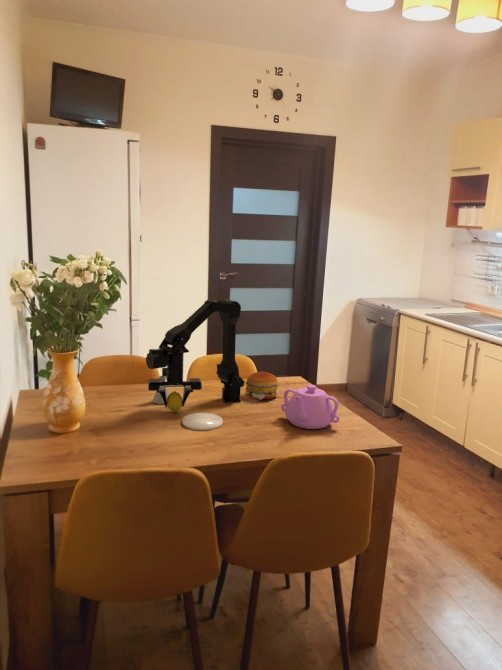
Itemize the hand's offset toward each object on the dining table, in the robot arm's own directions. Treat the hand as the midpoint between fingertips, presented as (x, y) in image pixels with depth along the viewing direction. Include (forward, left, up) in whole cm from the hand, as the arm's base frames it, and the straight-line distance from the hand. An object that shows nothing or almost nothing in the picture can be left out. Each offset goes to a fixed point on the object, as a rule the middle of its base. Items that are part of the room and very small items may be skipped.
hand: (174, 407), depth 190 cm
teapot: (-45, +16, -2) cm, 48 cm away
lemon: (0, 0, -2) cm, 2 cm away
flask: (+4, -12, -2) cm, 13 cm away
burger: (-36, -16, -2) cm, 39 cm away
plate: (-9, +11, -2) cm, 14 cm away
